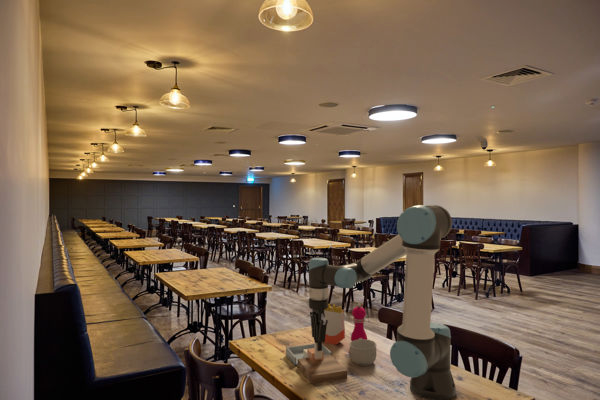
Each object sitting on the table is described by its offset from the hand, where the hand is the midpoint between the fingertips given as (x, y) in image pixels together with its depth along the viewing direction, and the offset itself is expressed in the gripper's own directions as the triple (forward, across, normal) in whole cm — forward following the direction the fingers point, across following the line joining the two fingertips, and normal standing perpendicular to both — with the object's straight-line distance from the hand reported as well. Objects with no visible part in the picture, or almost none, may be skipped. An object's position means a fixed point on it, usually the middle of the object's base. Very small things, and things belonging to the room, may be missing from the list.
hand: (318, 357), depth 157 cm
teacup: (+5, -1, +20) cm, 21 cm away
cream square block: (+3, -8, 0) cm, 9 cm away
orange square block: (+1, -3, 0) cm, 3 cm away
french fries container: (+5, -25, +17) cm, 30 cm away
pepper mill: (+5, -14, +25) cm, 29 cm away
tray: (+4, -11, 0) cm, 12 cm away
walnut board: (+4, +3, 0) cm, 5 cm away
